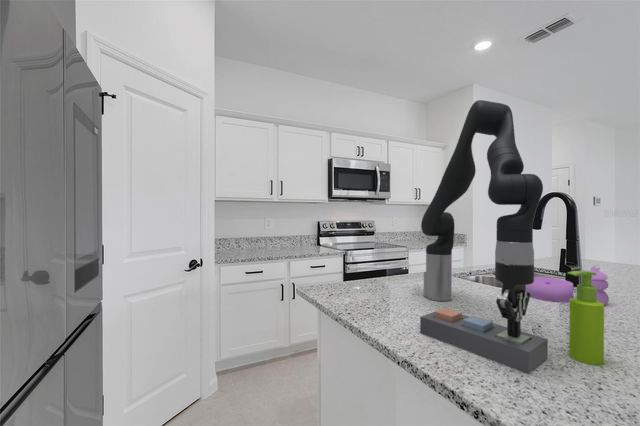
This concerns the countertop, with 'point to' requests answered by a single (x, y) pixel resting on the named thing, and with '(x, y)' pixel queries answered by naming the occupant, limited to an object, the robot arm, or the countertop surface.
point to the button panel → (488, 343)
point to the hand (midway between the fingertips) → (513, 335)
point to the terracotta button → (448, 315)
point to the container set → (565, 288)
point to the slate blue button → (478, 324)
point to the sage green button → (519, 340)
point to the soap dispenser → (586, 322)
